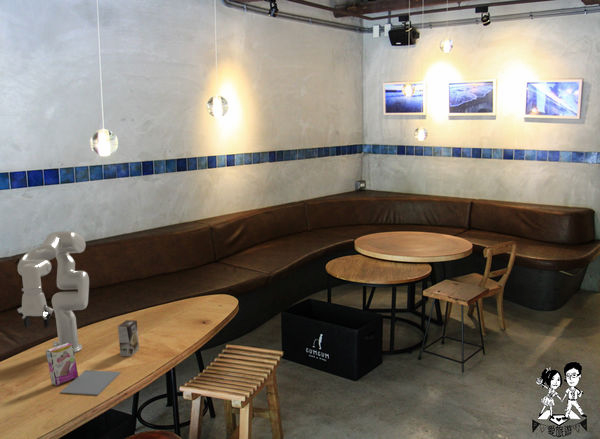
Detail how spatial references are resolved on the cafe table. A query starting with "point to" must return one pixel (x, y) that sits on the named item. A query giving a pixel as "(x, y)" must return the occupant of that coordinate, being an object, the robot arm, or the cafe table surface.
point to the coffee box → (128, 338)
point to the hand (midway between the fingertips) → (37, 326)
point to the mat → (91, 382)
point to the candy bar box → (62, 363)
